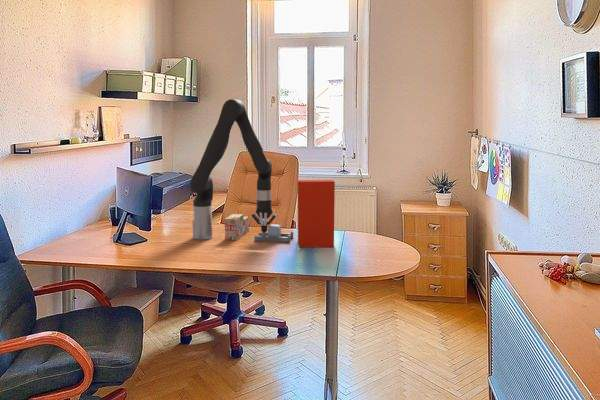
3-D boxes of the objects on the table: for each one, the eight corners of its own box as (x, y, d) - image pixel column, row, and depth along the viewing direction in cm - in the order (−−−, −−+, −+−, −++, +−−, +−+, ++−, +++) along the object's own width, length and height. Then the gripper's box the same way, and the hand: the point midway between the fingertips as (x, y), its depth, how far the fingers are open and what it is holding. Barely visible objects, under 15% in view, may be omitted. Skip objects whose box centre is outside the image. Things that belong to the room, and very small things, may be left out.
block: (268, 240, 244) (267, 226, 243) (270, 238, 249) (270, 224, 248) (278, 241, 243) (278, 226, 242) (281, 238, 248) (280, 224, 247)
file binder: (297, 243, 243) (297, 179, 237) (331, 243, 243) (332, 179, 238) (298, 247, 235) (298, 181, 229) (333, 247, 236) (334, 181, 230)
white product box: (238, 232, 267) (237, 210, 265) (249, 233, 265) (248, 211, 263) (225, 242, 246) (224, 218, 244) (236, 242, 245) (236, 218, 243)
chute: (254, 243, 243) (254, 234, 243) (259, 238, 252) (259, 230, 252) (289, 244, 240) (289, 235, 240) (293, 240, 249) (293, 231, 249)
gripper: (249, 199, 241) (249, 233, 244) (275, 200, 239) (275, 234, 242) (253, 197, 248) (253, 230, 251) (278, 197, 246) (278, 231, 249)
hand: (264, 232), depth 246 cm, fingers closed
